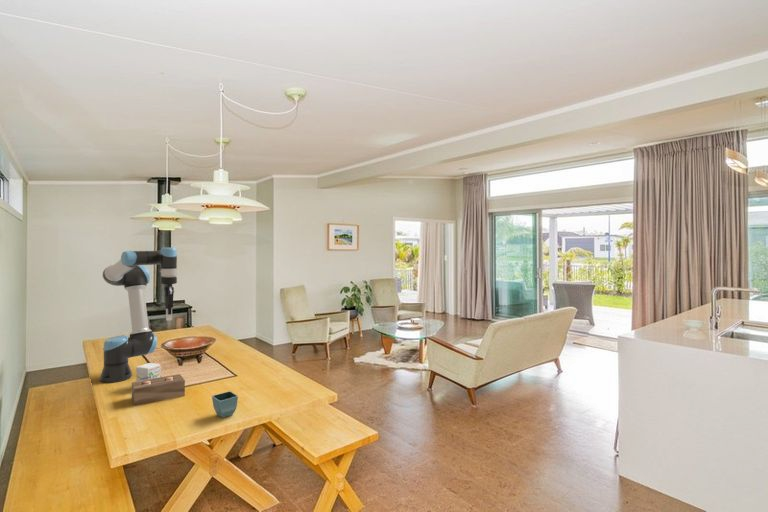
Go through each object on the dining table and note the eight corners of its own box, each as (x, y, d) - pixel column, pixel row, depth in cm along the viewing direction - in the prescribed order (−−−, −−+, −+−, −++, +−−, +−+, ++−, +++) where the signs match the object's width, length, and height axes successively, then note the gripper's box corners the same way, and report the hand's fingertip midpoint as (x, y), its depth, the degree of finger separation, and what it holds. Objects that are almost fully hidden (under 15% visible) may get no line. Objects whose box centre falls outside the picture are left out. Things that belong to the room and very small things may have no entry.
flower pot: (211, 414, 187) (211, 395, 186) (230, 409, 193) (230, 390, 192) (219, 421, 180) (219, 401, 180) (238, 415, 186) (238, 396, 186)
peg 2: (165, 393, 210) (165, 377, 209) (172, 391, 212) (172, 376, 211) (166, 394, 207) (166, 379, 207) (173, 393, 209) (173, 378, 209)
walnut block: (131, 397, 205) (131, 382, 204) (179, 388, 218) (179, 374, 218) (134, 405, 195) (134, 389, 195) (184, 395, 208) (184, 380, 208)
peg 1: (143, 397, 204) (142, 381, 203) (150, 395, 206) (150, 380, 205) (143, 399, 201) (143, 383, 201) (151, 397, 203) (151, 382, 203)
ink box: (147, 390, 215) (147, 368, 214) (135, 388, 218) (135, 366, 217) (161, 385, 223) (161, 364, 223) (149, 383, 226) (149, 362, 225)
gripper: (159, 275, 221) (159, 318, 222) (163, 277, 210) (163, 323, 211) (174, 275, 225) (174, 317, 226) (179, 277, 215) (179, 321, 216)
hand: (169, 320), depth 219 cm, fingers closed
